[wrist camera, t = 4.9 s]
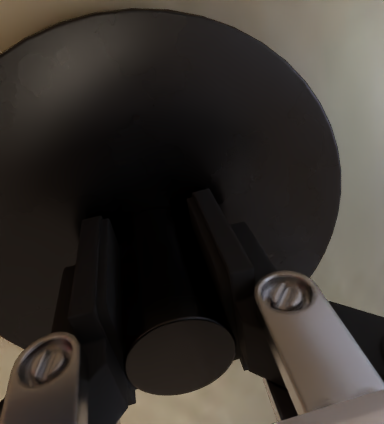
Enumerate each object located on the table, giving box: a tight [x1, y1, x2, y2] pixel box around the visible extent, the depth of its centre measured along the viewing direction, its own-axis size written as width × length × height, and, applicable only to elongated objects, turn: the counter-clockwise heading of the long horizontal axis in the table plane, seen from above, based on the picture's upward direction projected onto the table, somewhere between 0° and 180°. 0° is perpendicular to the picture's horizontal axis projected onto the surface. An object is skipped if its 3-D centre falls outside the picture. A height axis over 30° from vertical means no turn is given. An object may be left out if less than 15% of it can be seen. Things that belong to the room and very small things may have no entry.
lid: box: [0, 8, 341, 396], centre depth 9 cm, size 13×13×6 cm
